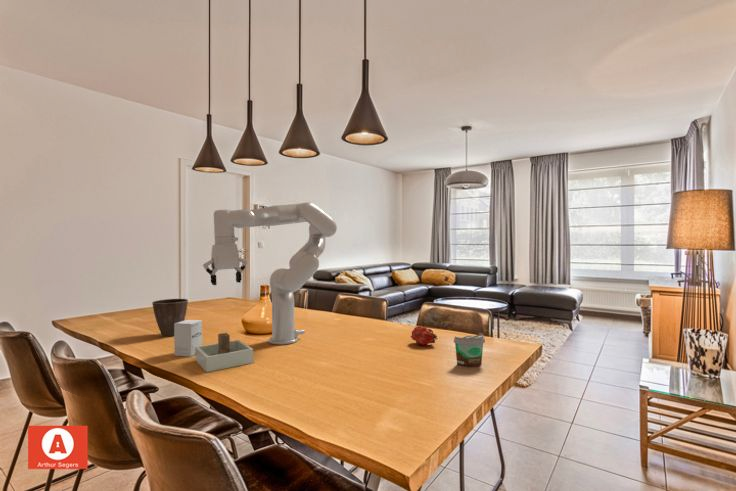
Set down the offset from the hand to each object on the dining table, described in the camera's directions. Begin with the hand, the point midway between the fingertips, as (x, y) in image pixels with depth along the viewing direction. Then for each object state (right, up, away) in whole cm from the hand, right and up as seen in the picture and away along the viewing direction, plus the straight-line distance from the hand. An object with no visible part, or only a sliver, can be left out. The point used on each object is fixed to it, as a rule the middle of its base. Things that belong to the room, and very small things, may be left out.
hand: (226, 283), depth 153 cm
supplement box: (-14, -27, -3) cm, 31 cm away
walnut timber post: (+4, -26, -14) cm, 30 cm away
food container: (+93, -27, -20) cm, 99 cm away
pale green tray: (+4, -27, -14) cm, 31 cm away
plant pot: (-36, -27, +27) cm, 53 cm away
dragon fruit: (+80, -26, +6) cm, 84 cm away
